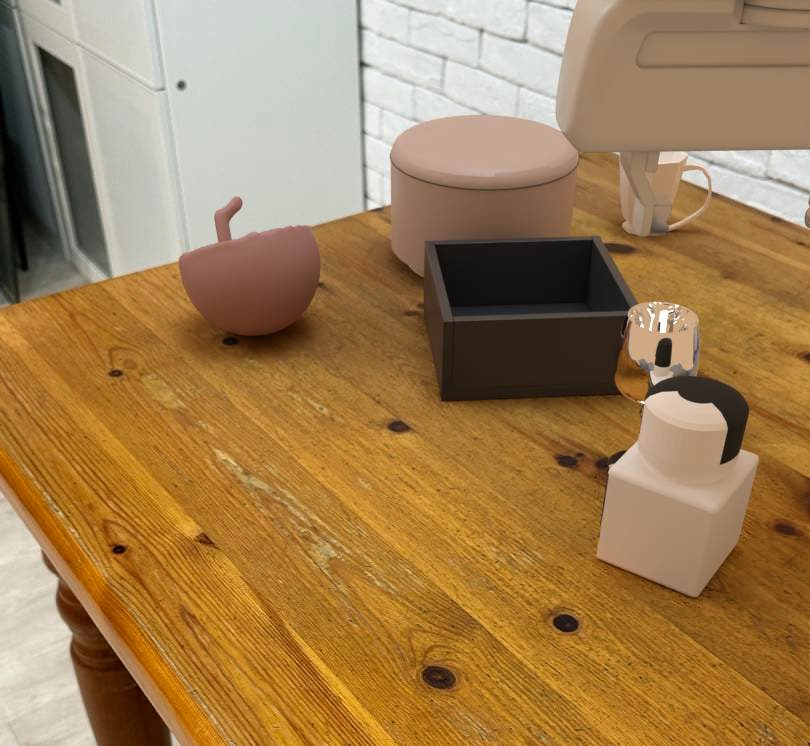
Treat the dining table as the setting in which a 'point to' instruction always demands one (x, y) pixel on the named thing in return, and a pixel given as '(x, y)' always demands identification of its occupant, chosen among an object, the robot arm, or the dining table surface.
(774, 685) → the dining table surface
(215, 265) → the coconut drink
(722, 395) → the medicine bottle
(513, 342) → the black bin
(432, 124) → the container
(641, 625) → the dining table surface
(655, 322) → the wineglass
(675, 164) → the cup
